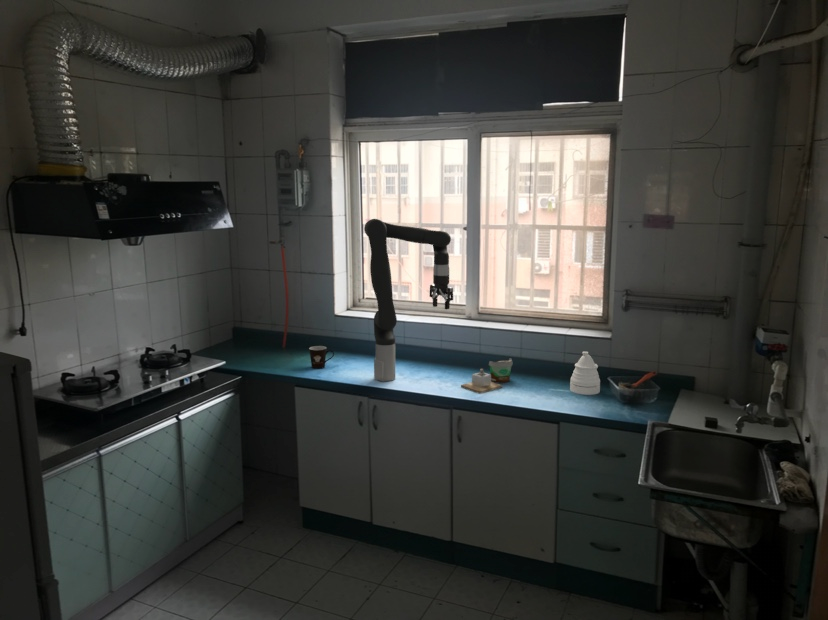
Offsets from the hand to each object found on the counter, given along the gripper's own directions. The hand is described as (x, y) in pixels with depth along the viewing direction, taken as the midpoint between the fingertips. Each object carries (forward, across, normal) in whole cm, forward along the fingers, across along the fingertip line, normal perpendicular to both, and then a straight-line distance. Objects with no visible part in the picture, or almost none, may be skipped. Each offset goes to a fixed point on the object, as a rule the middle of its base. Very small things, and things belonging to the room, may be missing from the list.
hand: (441, 307), depth 306 cm
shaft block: (+33, +26, +2) cm, 42 cm away
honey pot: (+33, +58, +35) cm, 76 cm away
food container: (+33, +26, +16) cm, 45 cm away
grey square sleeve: (+32, +26, +2) cm, 41 cm away
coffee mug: (+33, -48, -38) cm, 70 cm away
